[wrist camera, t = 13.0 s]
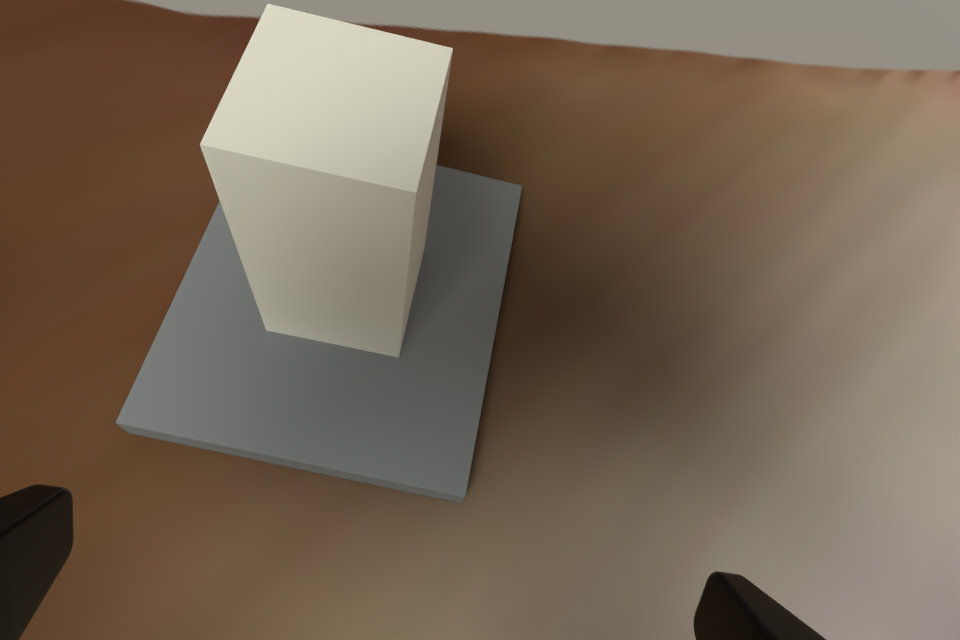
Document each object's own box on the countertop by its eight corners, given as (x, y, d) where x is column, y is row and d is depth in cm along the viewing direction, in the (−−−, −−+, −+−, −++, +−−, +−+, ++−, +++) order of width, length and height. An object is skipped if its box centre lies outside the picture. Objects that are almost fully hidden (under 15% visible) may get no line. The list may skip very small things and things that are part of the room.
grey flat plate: (516, 201, 29) (522, 185, 28) (460, 503, 22) (465, 497, 21) (261, 139, 28) (257, 120, 27) (127, 432, 22) (115, 422, 21)
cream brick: (424, 248, 26) (452, 48, 17) (399, 357, 23) (416, 192, 14) (303, 222, 25) (267, 3, 16) (265, 330, 23) (199, 144, 14)
